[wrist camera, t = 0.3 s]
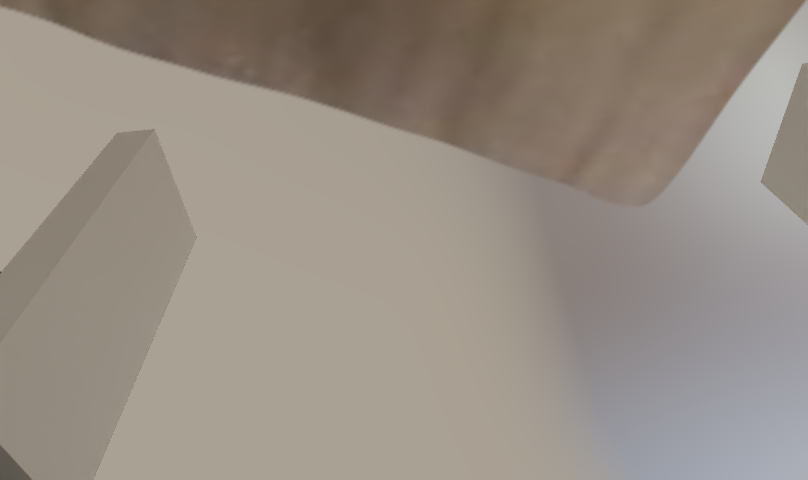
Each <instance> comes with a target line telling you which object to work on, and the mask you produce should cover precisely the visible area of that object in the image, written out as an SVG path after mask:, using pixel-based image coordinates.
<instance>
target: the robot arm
mask: <svg viewBox="0 0 808 480" xmlns="http://www.w3.org/2000/svg"><path fill="white" fill-rule="evenodd" d="M761 183H762V184H763V185H764V186H766V187H767V188H768V189H769V190H770V191H771V192H772V193H773V194H774V195H775V196H777V197H778V198H779V199H780V200H781V201H782V202H783V203H784V204H785V205H786V206H788V207H789V208H790V209H791V210H792V211H793V212H794V213H795V214H796V215H797V216H799V217H800V218H801V219H802V220H803V221H804V222H805V223H806V224H807V225H808V63H806V64H802V66H801V69H800V72H799V75H798V78H797V80H796V83H795V86H794V89H793V92H792V95H791V98H790V100H789V103H788V106H787V109H786V112H785V114H784V117H783V120H782V123H781V126H780V129H779V131H778V134H777V137H776V140H775V143H774V146H773V148H772V151H771V154H770V157H769V160H768V163H767V166H766V168H765V171H764V174H763V177H762V180H761ZM195 240H196V235H195V232H194V229H193V227H192V224H191V222H190V219H189V217H188V214H187V211H186V209H185V206H184V204H183V201H182V199H181V196H180V194H179V191H178V188H177V186H176V184H175V181H174V178H173V176H172V173H171V171H170V168H169V165H168V163H167V160H166V158H165V155H164V153H163V150H162V147H161V145H160V143H159V140H158V137H157V135H156V132H155V130H154V129H152V130H142V131H132V132H122V133H117V134H116V135H115V136H114V137H113V139H112V140H111V141H110V142H109V143H108V145H107V146H106V147H105V148H104V149H103V151H102V152H101V153H100V154H99V156H98V157H97V158H96V159H95V160H94V161H93V163H92V164H91V165H90V166H89V168H88V169H87V170H86V171H85V172H84V174H83V175H82V176H81V177H80V178H79V180H78V181H77V182H76V183H75V184H74V186H73V187H72V188H71V189H70V190H69V192H68V193H67V194H66V195H65V196H64V198H63V199H62V200H61V201H60V202H59V204H58V205H57V206H56V207H55V208H54V210H53V211H52V212H51V213H50V214H49V216H48V217H47V218H46V219H45V220H44V222H43V223H42V224H41V225H40V226H39V228H38V229H37V230H36V231H35V232H34V234H33V235H32V236H31V237H30V239H29V240H28V241H27V242H26V243H25V244H24V246H23V247H22V248H21V249H20V251H19V252H18V253H17V254H16V255H15V256H14V258H13V259H12V260H11V261H10V263H9V264H8V265H7V266H6V267H5V268H4V270H3V271H2V272H0V480H93V479H94V477H95V474H96V472H97V470H98V467H99V465H100V463H101V460H102V458H103V456H104V453H105V451H106V449H107V446H108V444H109V442H110V439H111V437H112V435H113V432H114V430H115V428H116V425H117V423H118V421H119V418H120V416H121V413H122V411H123V409H124V406H125V404H126V402H127V399H128V397H129V395H130V392H131V390H132V388H133V385H134V383H135V381H136V378H137V376H138V374H139V371H140V369H141V367H142V364H143V362H144V359H145V357H146V355H147V352H148V350H149V348H150V345H151V343H152V341H153V338H154V336H155V334H156V331H157V329H158V327H159V324H160V322H161V319H162V317H163V315H164V313H165V310H166V308H167V306H168V303H169V301H170V298H171V296H172V294H173V291H174V289H175V287H176V285H177V282H178V279H179V277H180V275H181V273H182V270H183V268H184V266H185V263H186V261H187V259H188V256H189V254H190V252H191V249H192V247H193V245H194V242H195Z"/></svg>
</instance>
